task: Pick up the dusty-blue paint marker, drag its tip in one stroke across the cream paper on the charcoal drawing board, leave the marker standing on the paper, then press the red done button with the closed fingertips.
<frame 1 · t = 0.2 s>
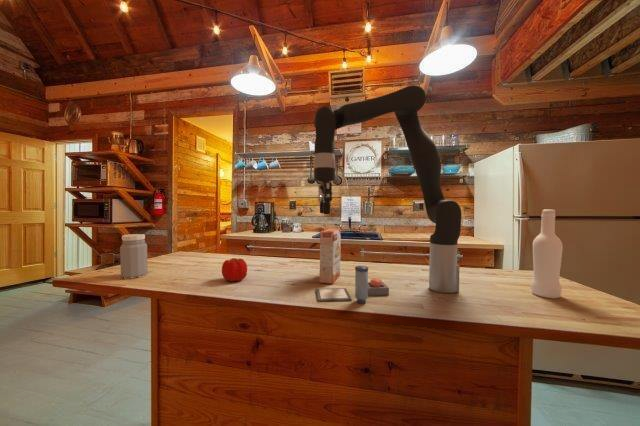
hand: (324, 213, 91), 28 cm above the countertop, fingers open, 8 cm apart
jar: (134, 276, 113), on the countertop
done button: (376, 283, 93), point 3 cm above the countertop, slide at 0.0 cm
button collar: (376, 291, 94), on the countertop
marker: (361, 301, 84), on the countertop
drawing board: (332, 295, 90), on the countertop
cracker box: (330, 279, 109), on the countertop
bottle: (545, 295, 91), on the countertop
tomato: (234, 280, 108), on the countertop
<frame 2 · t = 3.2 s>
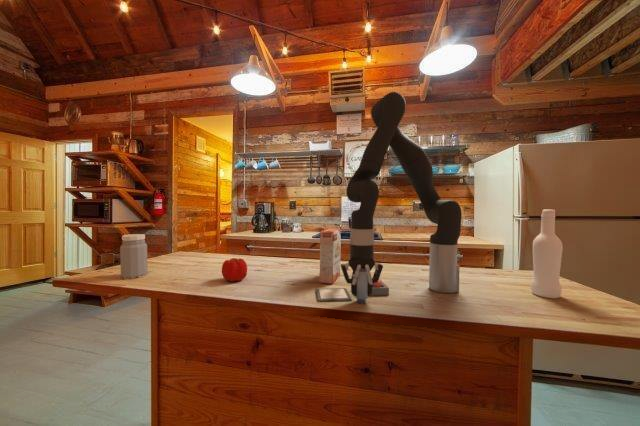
hand: (361, 295, 84), 2 cm above the countertop, fingers closed on marker, 4 cm apart
marker: (361, 301, 84), on the countertop, touching gripper
everything else where it was.
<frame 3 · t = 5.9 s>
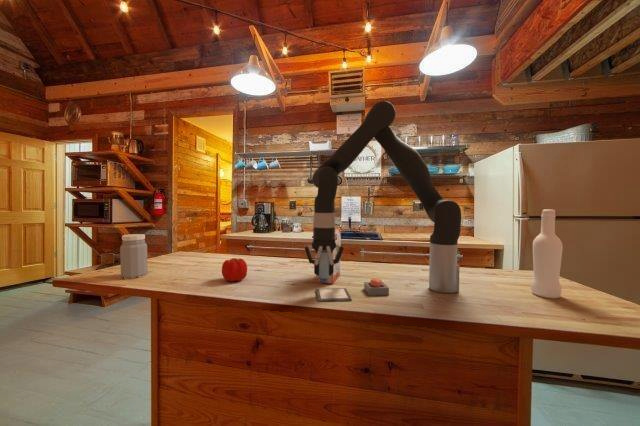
hand: (323, 274, 90), 7 cm above the countertop, fingers closed on marker, 4 cm apart
marker: (323, 281, 90), point 5 cm above the countertop, touching gripper
everything else where it was.
when the fingers open (3 cm above the countertop, at t = 9.0 s): marker stays where it is, resting on drawing board.
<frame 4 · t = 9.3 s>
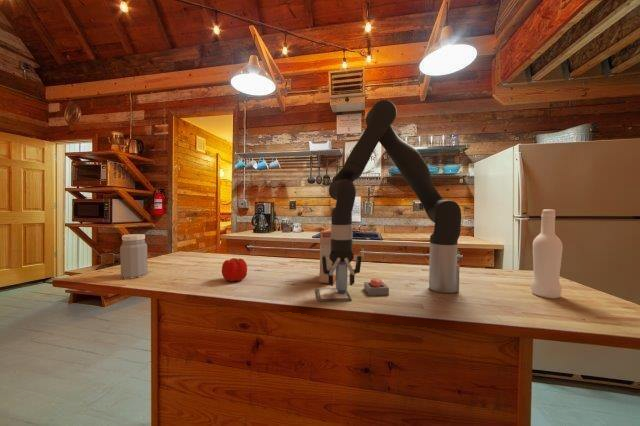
hand: (341, 285, 90), 3 cm above the countertop, fingers open, 6 cm apart
marker: (341, 292, 91), point 1 cm above the countertop, touching drawing board
everything else where it was.
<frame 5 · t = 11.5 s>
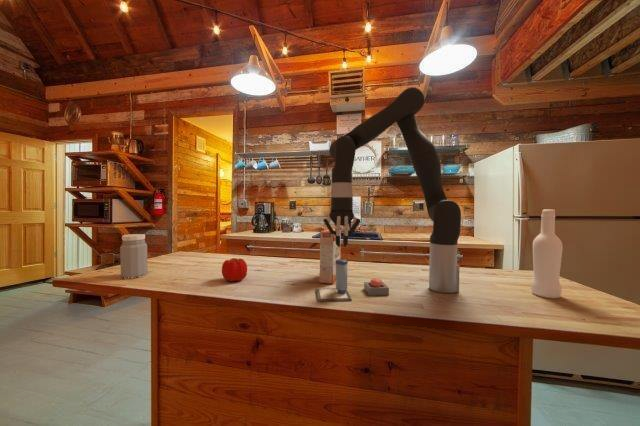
hand: (341, 246, 90), 17 cm above the countertop, fingers closed
nothing on the countertop moved.
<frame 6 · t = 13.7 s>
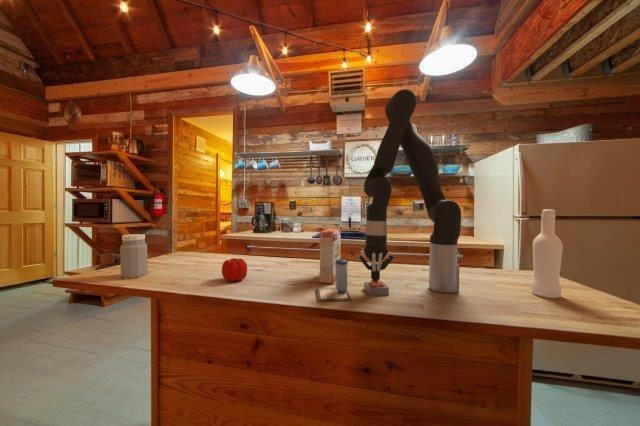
hand: (375, 280, 94), 4 cm above the countertop, fingers closed
done button: (376, 284, 93), point 3 cm above the countertop, slide at 0.3 cm, touching gripper
everything else where it was.
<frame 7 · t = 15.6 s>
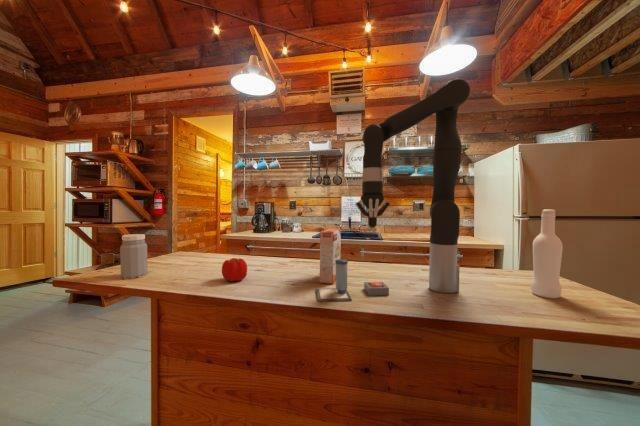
hand: (372, 227, 97), 23 cm above the countertop, fingers closed
done button: (376, 287, 93), point 2 cm above the countertop, slide at 1.3 cm
everything else where it was.
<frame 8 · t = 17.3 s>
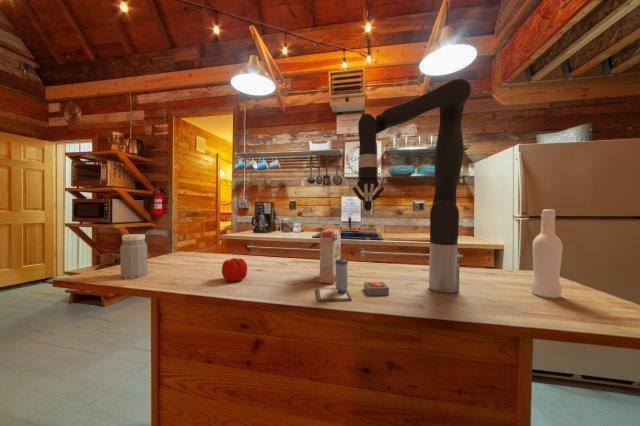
hand: (367, 210, 103), 29 cm above the countertop, fingers closed
nothing on the countertop moved.
at the end: marker inside the target area on the drawing board (3.1 cm from its centre), point 0.7 cm above the drawing board's base; marker tilted 0°; done button slide at 1.3 cm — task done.
